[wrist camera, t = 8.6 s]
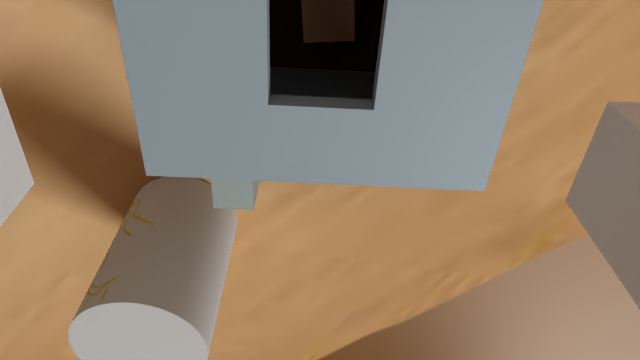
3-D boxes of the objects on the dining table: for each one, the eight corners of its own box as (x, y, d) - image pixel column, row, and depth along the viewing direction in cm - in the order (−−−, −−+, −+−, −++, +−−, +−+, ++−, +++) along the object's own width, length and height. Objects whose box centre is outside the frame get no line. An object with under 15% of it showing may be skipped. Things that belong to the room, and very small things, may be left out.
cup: (143, 161, 36) (75, 286, 26) (249, 195, 38) (223, 324, 28) (125, 238, 40) (62, 369, 31) (221, 264, 42) (190, 397, 32)
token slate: (228, 155, 36) (213, 208, 31) (223, 78, 32) (205, 124, 27) (263, 157, 36) (253, 209, 31) (261, 80, 32) (250, 126, 27)
